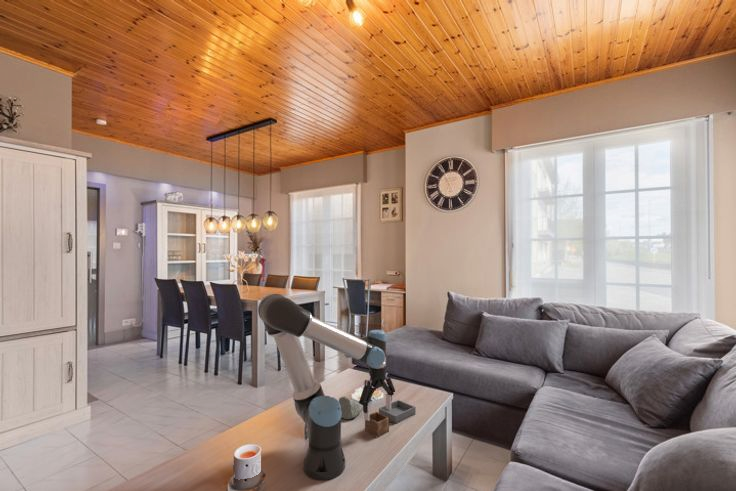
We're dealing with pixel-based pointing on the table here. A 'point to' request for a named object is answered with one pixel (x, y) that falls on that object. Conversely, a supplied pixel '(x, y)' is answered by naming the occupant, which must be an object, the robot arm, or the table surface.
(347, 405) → the decorative stone
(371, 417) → the walnut crate
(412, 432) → the table surface
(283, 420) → the table surface
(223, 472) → the table surface
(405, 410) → the tray
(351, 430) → the table surface
